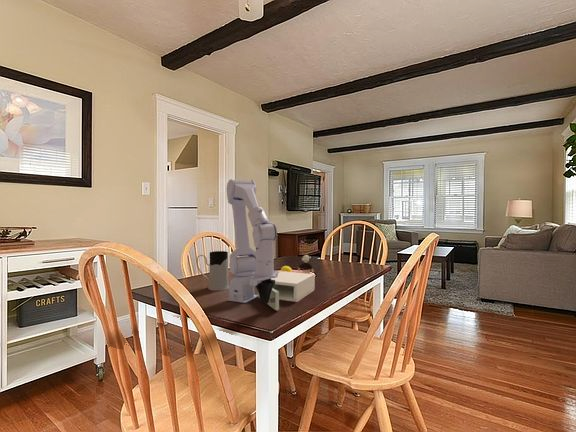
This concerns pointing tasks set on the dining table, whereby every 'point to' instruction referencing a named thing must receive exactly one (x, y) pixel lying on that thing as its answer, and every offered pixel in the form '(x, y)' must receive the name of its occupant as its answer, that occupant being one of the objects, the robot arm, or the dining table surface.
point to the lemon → (286, 269)
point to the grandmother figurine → (306, 265)
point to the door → (273, 299)
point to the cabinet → (294, 285)
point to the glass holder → (217, 270)
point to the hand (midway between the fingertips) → (264, 302)
